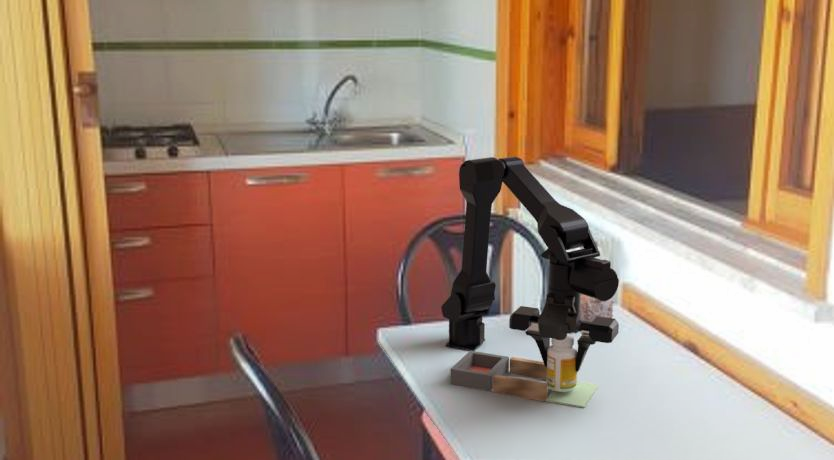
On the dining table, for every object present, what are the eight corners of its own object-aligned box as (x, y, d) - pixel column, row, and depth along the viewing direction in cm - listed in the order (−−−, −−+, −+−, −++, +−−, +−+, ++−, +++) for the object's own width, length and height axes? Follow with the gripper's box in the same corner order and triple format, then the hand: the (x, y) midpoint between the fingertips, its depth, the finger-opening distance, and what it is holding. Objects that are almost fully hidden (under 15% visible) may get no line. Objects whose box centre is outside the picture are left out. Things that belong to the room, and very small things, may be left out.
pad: (545, 401, 166) (545, 399, 166) (561, 380, 175) (561, 378, 175) (584, 407, 163) (584, 406, 163) (598, 386, 172) (598, 385, 172)
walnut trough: (492, 391, 170) (493, 376, 169) (511, 371, 179) (511, 356, 178) (545, 401, 166) (546, 385, 165) (562, 379, 175) (562, 365, 174)
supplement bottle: (579, 383, 171) (581, 333, 168) (571, 394, 166) (573, 343, 163) (551, 378, 173) (552, 329, 170) (542, 389, 168) (544, 339, 166)
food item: (590, 315, 210) (592, 273, 207) (615, 326, 203) (617, 283, 201) (543, 327, 203) (544, 283, 200) (567, 338, 196) (569, 293, 194)
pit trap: (450, 383, 173) (450, 368, 173) (470, 364, 182) (470, 350, 181) (490, 391, 170) (490, 375, 169) (508, 371, 179) (509, 356, 178)
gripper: (499, 292, 161) (498, 376, 165) (605, 306, 154) (601, 394, 158) (520, 275, 171) (518, 355, 175) (621, 287, 164) (617, 370, 167)
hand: (562, 368), depth 168 cm, fingers closed on supplement bottle, 5 cm apart
